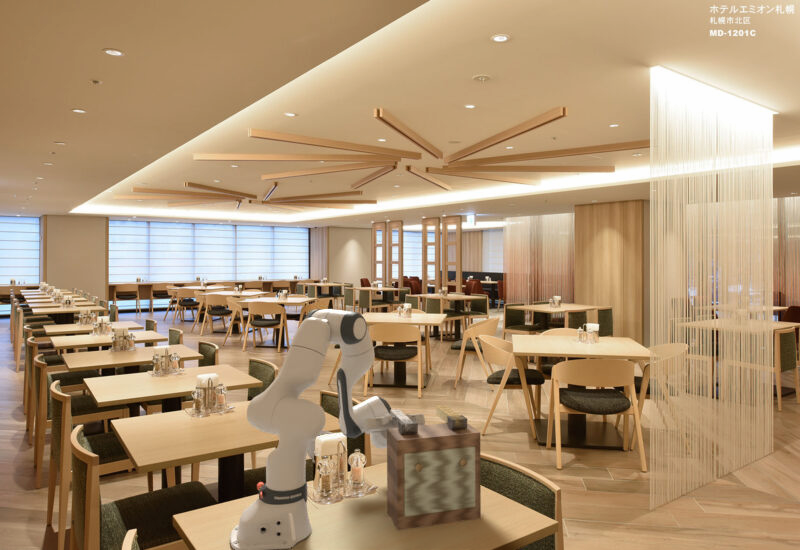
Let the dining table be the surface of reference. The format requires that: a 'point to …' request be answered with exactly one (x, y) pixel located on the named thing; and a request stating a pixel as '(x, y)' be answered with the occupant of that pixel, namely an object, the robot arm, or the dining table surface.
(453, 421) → the brass handle
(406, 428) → the steel handle
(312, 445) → the teacup
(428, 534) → the dining table surface
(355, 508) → the dining table surface
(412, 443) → the wooden box
